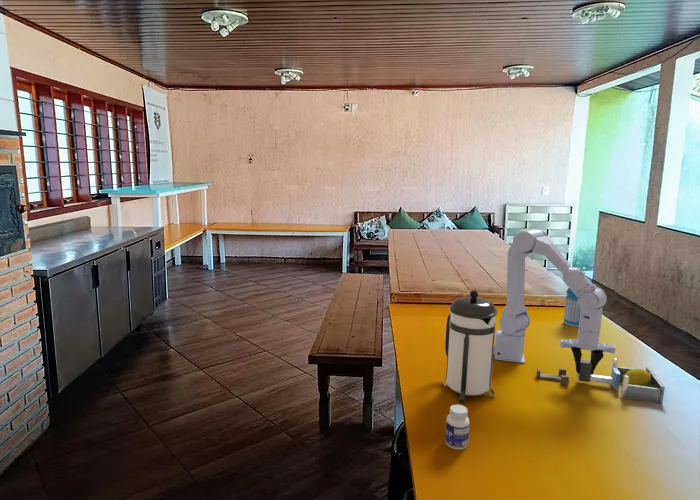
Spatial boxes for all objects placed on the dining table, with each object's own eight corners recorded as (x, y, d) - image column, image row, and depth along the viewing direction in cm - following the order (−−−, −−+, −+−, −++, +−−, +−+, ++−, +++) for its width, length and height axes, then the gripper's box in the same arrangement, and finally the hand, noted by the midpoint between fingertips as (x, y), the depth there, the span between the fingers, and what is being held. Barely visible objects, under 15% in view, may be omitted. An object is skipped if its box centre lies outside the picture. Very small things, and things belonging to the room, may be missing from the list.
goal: (621, 398, 134) (624, 376, 132) (610, 377, 147) (612, 357, 145) (662, 404, 131) (666, 382, 130) (647, 382, 144) (650, 362, 143)
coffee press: (500, 386, 139) (509, 287, 134) (486, 410, 126) (495, 301, 120) (444, 372, 148) (449, 279, 143) (425, 393, 134) (430, 291, 129)
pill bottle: (442, 437, 113) (444, 403, 111) (463, 436, 113) (466, 402, 112) (448, 450, 108) (450, 415, 106) (471, 450, 108) (473, 414, 107)
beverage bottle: (564, 326, 193) (569, 278, 189) (561, 319, 201) (566, 273, 197) (587, 328, 190) (592, 280, 187) (583, 321, 198) (588, 275, 195)
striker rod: (578, 384, 141) (581, 363, 140) (576, 377, 145) (578, 357, 144) (618, 389, 138) (621, 368, 137) (615, 383, 142) (617, 362, 141)
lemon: (629, 396, 137) (658, 387, 135) (622, 380, 136) (651, 370, 134) (623, 386, 142) (650, 377, 140) (615, 370, 142) (643, 361, 139)
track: (537, 381, 143) (538, 373, 143) (535, 372, 149) (536, 365, 149) (570, 385, 141) (570, 377, 140) (566, 376, 147) (567, 369, 146)
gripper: (564, 330, 138) (559, 374, 140) (620, 336, 134) (614, 381, 136) (561, 323, 144) (556, 365, 147) (614, 328, 140) (608, 371, 143)
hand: (584, 372), depth 142 cm, fingers closed on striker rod, 3 cm apart
